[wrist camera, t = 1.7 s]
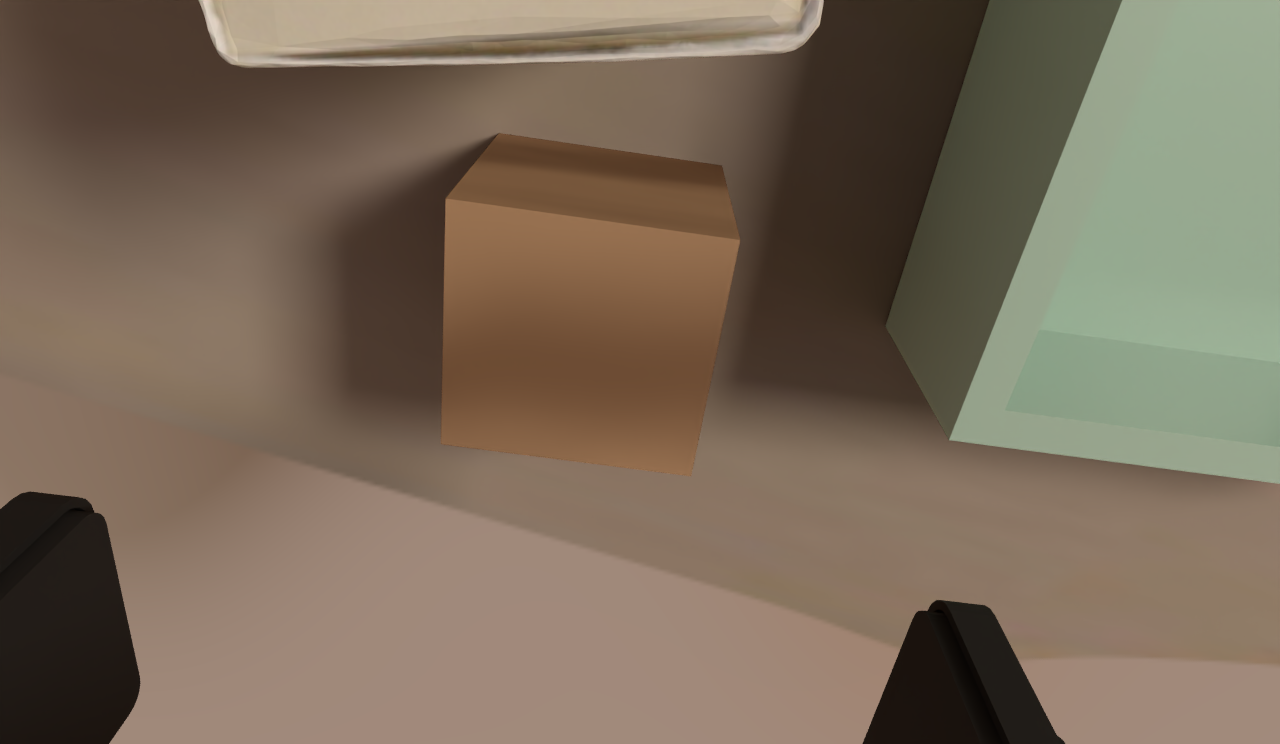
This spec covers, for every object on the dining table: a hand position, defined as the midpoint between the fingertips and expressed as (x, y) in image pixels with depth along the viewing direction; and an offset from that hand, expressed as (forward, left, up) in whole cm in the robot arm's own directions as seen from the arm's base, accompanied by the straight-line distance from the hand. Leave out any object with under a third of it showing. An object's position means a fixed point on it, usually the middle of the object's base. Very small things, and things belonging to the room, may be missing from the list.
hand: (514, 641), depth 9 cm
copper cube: (-1, 0, -11) cm, 11 cm away
